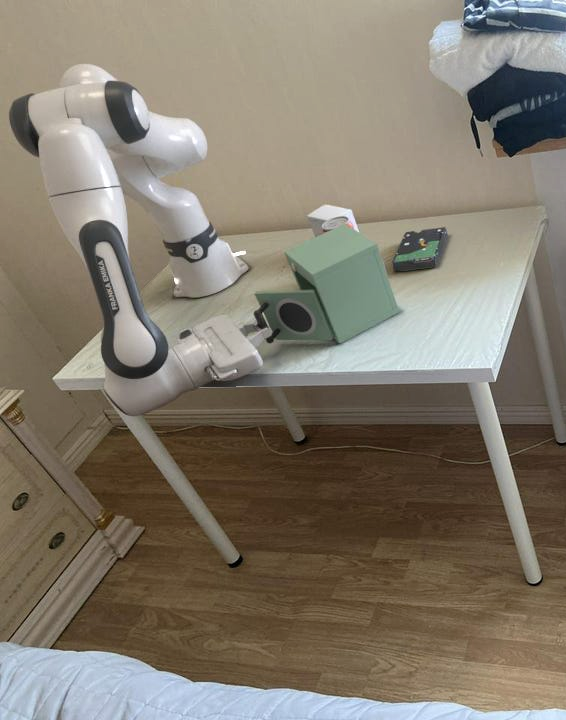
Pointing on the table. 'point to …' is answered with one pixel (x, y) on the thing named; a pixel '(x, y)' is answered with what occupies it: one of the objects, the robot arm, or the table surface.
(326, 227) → the soda can
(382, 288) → the washer
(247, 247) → the table surface
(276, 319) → the door
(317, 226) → the cosmetics box
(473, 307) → the table surface
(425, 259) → the disk drive
